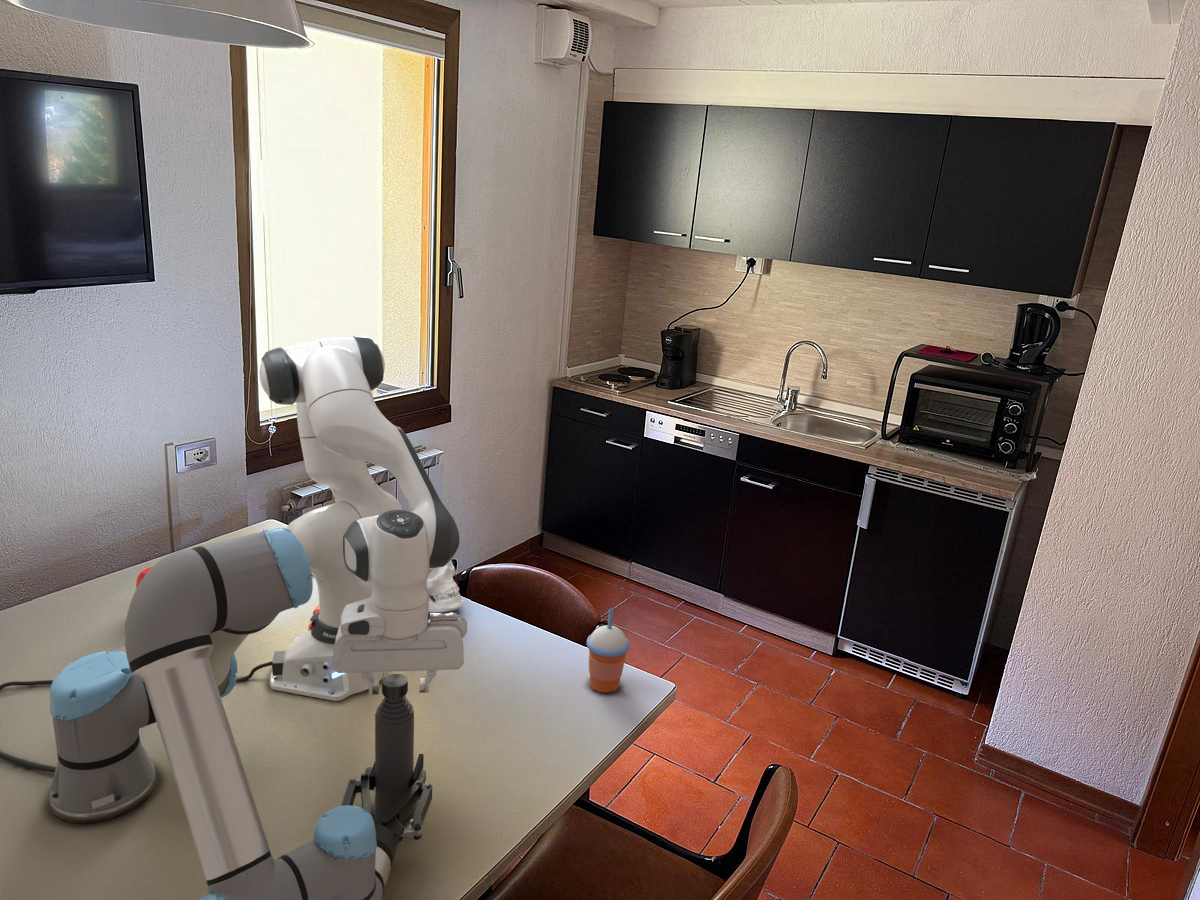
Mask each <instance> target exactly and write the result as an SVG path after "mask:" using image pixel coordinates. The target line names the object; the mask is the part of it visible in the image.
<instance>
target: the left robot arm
mask: <svg viewBox="0 0 1200 900" xmlns="http://www.w3.org/2000/svg"><path fill="white" fill-rule="evenodd" d="M152 566H153V567H152ZM152 566H151V567H152V568H151V569H150V570H149V571H148V572H147V574H146V575H145V576H144V577H143V579H142V581H141V582H140V584H139V585H138V587H137V589H136V588H135V590H134V593H133V595H132V597H131V601H130V603H129V607H128V610H127V615H126V619H125V624H124V625H125V627H124V648H125V652H124V651H120V650H111V651H109V652H107V651H105V650H103V651H98V652H93V653H90V654H88V655H85V656H82V657H80V658H78V659H76V660H74V661H72V662H71V663H69V664H67V665H66V666H65V667H64V668H62V669H61V670H60V671H59V672H58V674H57V675H56V676H55V677H54V679H52V680H53V682H52V684H50V689H49V692H50V693H49V695H50V696H49V698H50V699H49V701H50V703H49V712H50V715H51V716H52V725H53V732H54V738H55V739H54V741H55V747H56V755H57V764H56V766H54V765H48V764H42V763H37V762H34V761H29V760H26V759H23V758H20V757H17V756H13V755H11V754H8V753H6V752H4V751H1V750H0V759H2V760H4V761H7V762H10V763H13V764H15V765H19V766H22V767H26V768H28V769H29V768H30V769H34V770H38V771H42V772H47V773H52V774H53V778H52V780H51V785H50V789H49V792H48V800H49V806H50V810H51V812H52V814H53V815H55V816H56V817H57V818H58V819H61V820H62V821H65V822H69V823H76V824H88V823H97V822H101V821H106V820H109V819H113V818H115V817H119V816H121V815H124V814H125V813H128V812H129V811H131V810H133V809H134V808H136V807H137V806H139V805H140V804H142V803H143V802H144V801H145V800H146V799H147V798H148V797H150V795H151V794H152V792H153V791H154V789H155V786H156V783H157V773H156V766H155V765H154V761H152V759H151V758H150V757H149V755H148V753H147V750H146V749H145V747H144V745H143V743H142V742H141V737H140V729H142V728H145V727H147V726H151V725H153V724H155V723H156V724H157V727H158V732H159V734H160V737H161V741H162V744H163V747H164V749H165V753H166V757H167V760H168V763H169V766H170V769H171V773H172V775H173V779H174V782H175V785H176V788H177V791H178V795H179V798H180V801H181V804H182V807H183V811H184V814H185V817H186V820H187V824H188V827H189V830H190V832H191V837H192V840H193V843H194V845H195V849H196V852H197V856H198V859H199V862H200V865H201V868H202V871H203V872H202V873H203V875H204V877H205V882H206V885H207V889H208V893H206V894H205V895H204V896H203V897H201V898H199V899H198V900H382V899H383V895H384V892H385V888H386V885H387V882H388V878H389V876H390V873H391V868H392V866H393V863H394V859H395V856H396V854H397V851H398V846H399V845H400V843H401V842H402V841H403V840H404V839H405V838H408V837H413V841H414V840H415V841H420V840H421V839H422V826H423V823H424V821H425V818H426V816H427V813H428V810H429V808H430V805H431V803H432V800H433V785H432V783H426V780H427V772H426V770H424V760H425V759H424V755H425V754H424V753H419V754H418V756H417V759H416V762H415V766H414V768H413V775H412V778H411V788H410V789H409V790H408V791H407V792H406V794H405V795H404V796H403V797H402V799H401V800H400V801H399V802H398V803H397V805H396V806H395V805H394V806H393V807H392V808H391V809H390V810H389V811H385V812H380V811H375V809H374V810H373V809H372V800H371V792H370V791H375V761H374V762H373V765H372V766H367V767H366V768H365V771H364V773H362V774H360V779H359V780H356V779H354V778H351V779H349V780H348V782H347V784H346V785H347V786H346V789H345V791H344V792H345V793H344V795H343V799H342V801H341V805H340V806H335V807H333V808H331V809H329V810H327V811H326V812H325V813H324V814H323V815H322V817H320V819H319V820H318V821H317V822H316V825H315V831H314V833H313V839H311V840H310V841H308V842H306V843H304V844H302V845H299V846H298V847H296V848H295V849H292V850H290V851H289V852H287V853H285V854H283V855H281V856H279V857H277V858H275V859H274V858H273V855H272V853H271V851H270V850H271V848H270V845H269V842H268V839H267V835H266V833H265V830H264V826H263V824H262V820H261V817H260V815H259V812H258V811H259V810H258V809H257V805H256V802H255V799H254V795H253V792H252V790H251V787H250V784H249V780H248V777H247V774H246V771H245V768H244V765H243V762H242V759H241V756H240V753H239V749H238V746H237V743H236V740H235V737H234V734H233V731H232V727H231V725H230V721H229V718H228V716H227V713H226V708H225V706H224V702H223V700H222V698H225V697H226V696H228V695H229V694H230V693H231V692H232V690H234V688H235V686H236V683H237V682H236V679H238V677H237V673H238V662H237V658H236V657H237V656H236V654H235V652H236V651H237V650H238V649H239V648H240V646H241V645H242V643H243V642H244V641H245V640H246V639H247V638H248V636H249V635H253V634H256V633H258V632H260V631H263V630H264V629H265V628H267V627H268V626H269V625H270V624H272V622H273V621H274V620H275V619H276V618H277V617H278V615H279V614H280V613H282V612H285V611H287V610H291V609H298V608H299V607H300V606H303V605H305V604H307V603H309V601H310V599H311V598H312V595H313V590H314V588H313V587H314V586H313V585H314V584H313V583H314V582H313V574H312V573H311V569H310V565H309V561H308V558H307V556H306V553H305V551H304V548H303V546H302V544H301V543H300V541H299V539H298V538H297V537H296V536H295V534H293V533H292V532H291V531H290V530H289V529H287V527H276V528H271V529H267V528H263V529H262V531H259V532H255V533H250V534H245V535H241V536H237V537H233V538H229V539H228V538H227V539H224V540H219V541H216V542H215V541H214V542H212V543H206V544H203V545H199V546H195V547H189V548H188V547H187V548H183V549H180V550H176V551H175V552H172V553H170V554H168V555H166V556H164V557H162V558H161V559H160V560H158V562H156V563H155V564H153V565H152ZM357 794H360V799H361V807H360V806H358V805H357V806H356V805H354V803H355V800H356V796H357ZM416 804H417V805H416ZM415 805H416V807H415ZM414 807H415V809H414ZM412 808H413V809H414V812H413V815H412V819H409V822H408V823H407V825H406V826H405V827H404V826H403V824H402V822H403V821H404V820H405V819H404V818H405V816H406V815H407V814H408V813H409V811H410V810H411V809H412ZM403 819H404V820H403Z"/></svg>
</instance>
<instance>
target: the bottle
mask: <svg viewBox="0 0 1200 900" xmlns="http://www.w3.org/2000/svg"><path fill="white" fill-rule="evenodd" d="M414 754H415V710H414V706H413V705H412V704H411V702H410V701H409V699H408V698H407V696H406V695H405V696H404V697H402V698H398V699H389V698H386V697H384V696H383V699H382V700H381V702H380V703H379V705H378V706H377V708H376V711H375V713H374V762H375V788H374V810H375V811H380V812H385V811H389V810H390V809H391V808H392V807H393V806H394V805H395V806H396V805H397V803H398V802H399V801H400V800H401V799H402V797H403V796H404V795H405V794H406V792H407V791H408V790H409V789H410V788H411V778H412V775H413V772H414V761H415V760H414V758H415V757H414ZM413 810H414V807H413V808H412V809H411V810H410V811H409V813H408V814H407V815H406V816H405V818H404V819H403V820H402V821H404V820H406V819H408V818H409V817H410V816H411V814H412V812H413Z"/></svg>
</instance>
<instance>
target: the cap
mask: <svg viewBox="0 0 1200 900" xmlns="http://www.w3.org/2000/svg"><path fill="white" fill-rule="evenodd" d="M408 692H409V681H408V677H407V676H406V675H404V674H401V673H390V674H388V675H386V676H383V678H382V679H381V694H382V696H383V698H384V697H386V698H389V699H398V698H402V697H404V696H406V695H407V694H408Z"/></svg>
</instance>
